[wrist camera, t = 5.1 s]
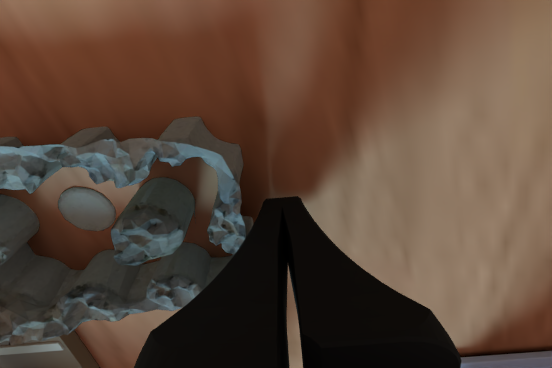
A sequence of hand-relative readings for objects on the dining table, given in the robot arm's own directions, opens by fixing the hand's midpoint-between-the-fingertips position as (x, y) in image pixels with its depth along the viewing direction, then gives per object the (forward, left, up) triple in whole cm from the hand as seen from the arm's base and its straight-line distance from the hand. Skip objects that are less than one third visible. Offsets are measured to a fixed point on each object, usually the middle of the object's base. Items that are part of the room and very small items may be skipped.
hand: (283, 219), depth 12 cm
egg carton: (+6, -1, -2) cm, 7 cm away
